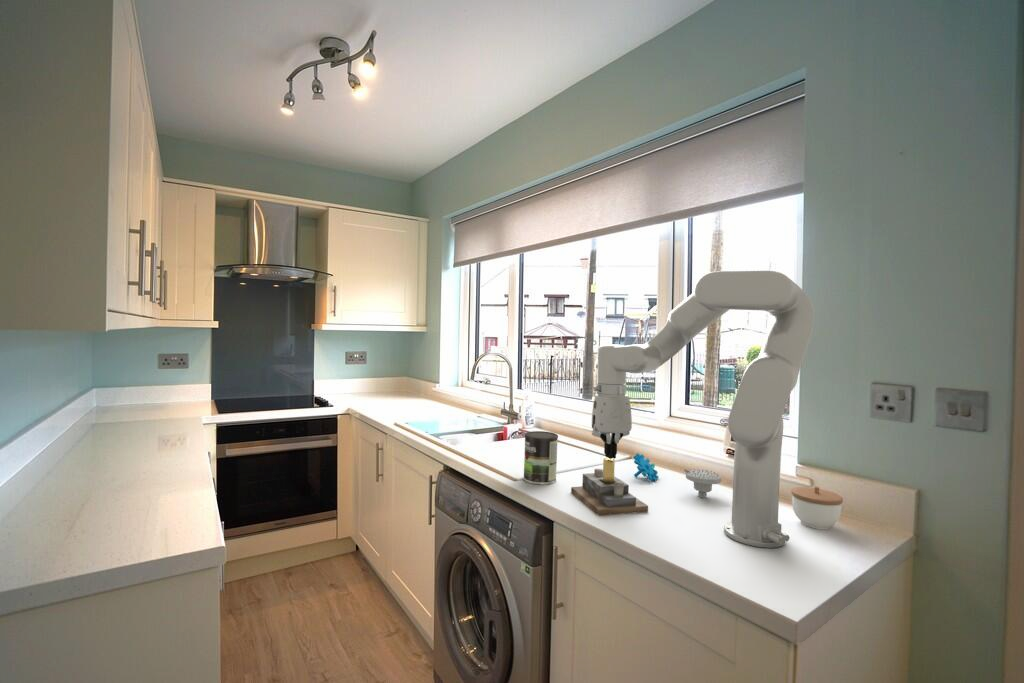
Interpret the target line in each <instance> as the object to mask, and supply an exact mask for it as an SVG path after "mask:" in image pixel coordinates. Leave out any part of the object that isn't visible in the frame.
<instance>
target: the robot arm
mask: <svg viewBox="0 0 1024 683" xmlns="http://www.w3.org/2000/svg"><path fill="white" fill-rule="evenodd" d="M693 288H694V289H693V292H692V293H691V294H690V295H689V296H688V297H686V298H685V299H684V300H683V301H681V302H680V303H678V305H677V306H676V307H674V308H673V309H671V311H670V312H669V313H668V317H667V321H666V322H665V325H664V326H663V327H662V328H661V329H660V331H659V332H657V334H655V335H654V336H653V337H652V338H650V339H649V340H647V342H645V343H643V344H642V343H640V344H639V343H638V344H628V345H622V344H601V345H599V347H598V350H597V353H598V354H597V383H596V385H593V387H592V390H593V391H594V392H596V394H595V395H594V400H593V404H592V411H591V412H592V413H591V429H592V431H591V436H593V437H595V438H596V437H597V438H600V439H601V441H602V442H603V443H604V450H603V452H604V455H605V458H610V459H616V458H617V454H618V444H619V442H620V440H621V439H622V438H623V437H626V436H629V435H630V432H631V431H632V425H633V424H632V423H633V421H632V420H633V419H632V407H631V406H632V405H631V401H630V397H629V395H628V394H627V393H626V390H627V373H629V374H643V373H648V372H649V373H650V372H653V371H655V370H657V369H658V368H659V367H661V366H662V365H664V364H665V363H667V362H668V361H669V360H670V359H672V358H673V357H674V356H676V355H677V354H678V353H679V352H680V351H681V350H682V349H683V348H684V347H686V346H687V345H688V344H689V343H690V342H691V341H692V340H693V339H694V338H695V337H696V336H697V335H699V334H700V333H701V332H702V331H704V330H705V329H706V328H708V327H710V325H712V324H713V323H714V322H715V321H717V320H718V319H719V318H721V317H722V316H723V315H725V314H726V313H727V312H729V311H730V310H738V311H739V310H740V311H741V310H742V311H763V312H768V313H769V314H770V317H771V319H770V324H769V326H768V329H767V331H766V333H765V338H764V342H763V345H762V346H761V349H760V352H759V355H758V356H757V358H755V359H753V360H752V361H751V362H750V363H749V364H747V366H746V369H745V371H744V372H743V375H742V376H741V380H740V383H739V385H738V389H737V392H736V394H735V397H734V400H733V403H732V406H731V409H730V412H729V415H728V419H727V427H728V428H727V429H728V431H729V434H730V436H731V437H732V439H733V440H734V441H735V444H734V455H733V456H734V457H733V473H732V474H733V476H732V478H733V479H732V481H733V482H732V504H731V505H732V506H731V508H732V509H731V521H729V522H727V523H725V524H724V527H723V532H724V534H725V535H727V537H729V539H730V538H731V540H734V541H736V542H738V543H741V544H744V545H748V546H751V547H757V548H766V549H767V548H770V549H772V548H778V547H783V546H784V545H785V544H786V542H788V541H789V540H790V535H789V534H787V533H785V532H782V525H783V524H782V523H780V522H779V506H780V505H779V504H780V481H781V480H780V479H781V478H780V476H781V462H782V445H783V438H784V437H783V435H784V418H783V415H784V412H785V409H786V406H787V403H788V401H789V399H790V395H791V393H792V391H793V390H794V389H795V387H796V385H797V384H798V378H799V374H800V370H801V367H802V365H803V362H804V358H805V356H806V352H807V349H808V346H809V343H810V341H811V338H812V334H813V330H814V326H815V318H816V317H815V310H814V306H813V303H812V301H811V298H810V297H809V295H808V294H807V293H806V292H805V291H804V289H802V288H801V287H800V286H799V285H798V284H797V283H795V282H794V281H793V280H792V279H791V278H790V277H789V276H787V275H786V274H784V273H782V272H779V271H776V270H775V271H774V270H739V271H737V270H735V271H734V270H732V271H731V270H730V271H728V270H727V271H725V270H724V271H723V270H716V271H715V270H714V271H710V272H707V273H704V274H703V275H702V276H701V277H700V278H698V280H697V281H696V283H695V285H694V287H693Z"/></svg>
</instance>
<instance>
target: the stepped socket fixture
mask: <svg viewBox="0 0 1024 683" xmlns="http://www.w3.org/2000/svg"><path fill="white" fill-rule="evenodd" d="M629 487H630V485H629V484H627V483H626V482H625V481H623V480H621V479H619V478H618V477H617V476H615V475H614V484H604V483H603V468H595V469H594V472H592V473H591V472H588V473H582V486H571V487H570V493H571V494H572V495H574V496H575V497H576V498H577V499H578V500H580V501H581V502H582V503H583V504H584V505H585V506H586V507H588V508H589V509H590V510H591V511H592V512H593V513H595V514H596V515H597V516H598V515H599V516H609V514H612V515H621V514H620V513H624V514H634V513H633V512H637V513H645V512H644V511H648V512H649V505H647V503H644V502H643V501H642V500H640V499H639V498H637V497H636V496H634V495H633V494H631V493H630V492H629V489H630V488H629Z"/></svg>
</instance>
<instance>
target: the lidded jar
mask: <svg viewBox="0 0 1024 683" xmlns="http://www.w3.org/2000/svg"><path fill="white" fill-rule="evenodd" d="M843 500H844V499H843V496H841V495H840V494H838V493H836V492H833V491H829V490H827V489H824V488H820V487H819V486H815V485H814V487H810V486H797V487H793V488H792V489H791V503H792V505H791V506H792V510H793V513H794V514H795V516H796V518H798V520H800V523H801V524H802V525H804V526H806V527H808V528H812V529H815V530H816V529H817V530H829V529H831V527H833V526H834V525H835V524H836V523H837V522H838V521H839V520H840V518H841V513H842V507H843V505H842V504H843V502H844V501H843Z"/></svg>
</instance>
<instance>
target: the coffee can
mask: <svg viewBox="0 0 1024 683" xmlns="http://www.w3.org/2000/svg"><path fill="white" fill-rule="evenodd" d="M558 438H559V435H558V434H557V433H555V432H549V431H540V430H533V431H528V432H526V433H524V460H523V461H524V462H523V463H524V464H523V478H524V479H523V481H524V480H525V481H524V482H526V483H527V484H533V485H542V486H543V485H546V486H547V485H551V484H555V483H556V482H557V462H558V440H559V439H558Z"/></svg>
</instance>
